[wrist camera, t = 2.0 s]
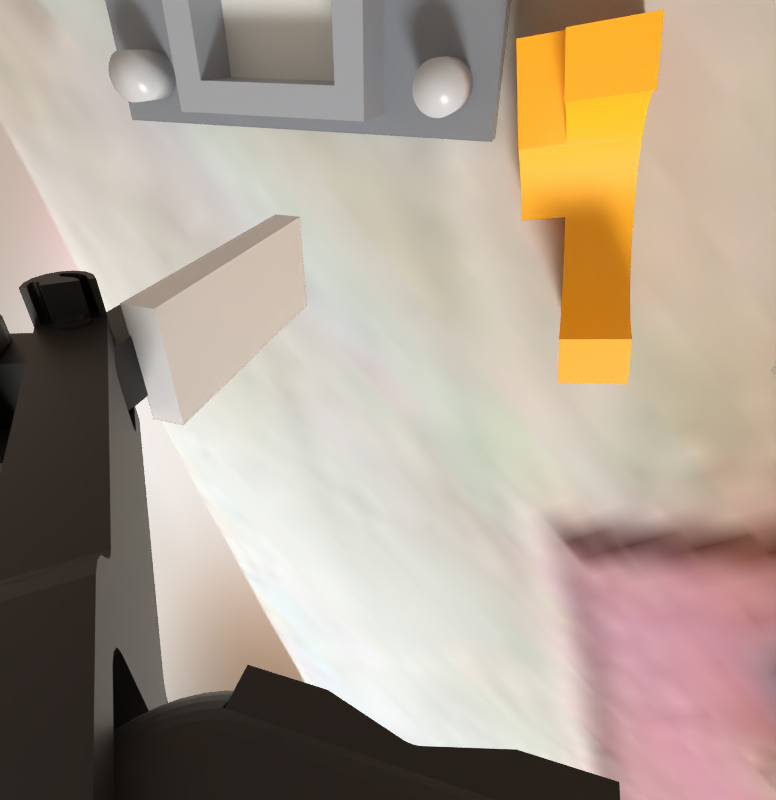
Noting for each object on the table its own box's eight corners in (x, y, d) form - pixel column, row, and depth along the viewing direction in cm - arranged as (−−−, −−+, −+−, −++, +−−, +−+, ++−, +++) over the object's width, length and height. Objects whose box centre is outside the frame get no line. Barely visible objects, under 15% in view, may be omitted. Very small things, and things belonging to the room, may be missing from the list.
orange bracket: (525, 38, 21) (504, 38, 16) (645, 17, 20) (664, 9, 15) (528, 317, 28) (514, 381, 22) (620, 316, 26) (627, 384, 21)
